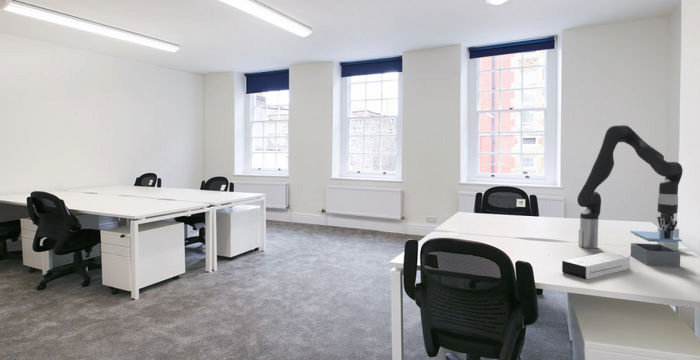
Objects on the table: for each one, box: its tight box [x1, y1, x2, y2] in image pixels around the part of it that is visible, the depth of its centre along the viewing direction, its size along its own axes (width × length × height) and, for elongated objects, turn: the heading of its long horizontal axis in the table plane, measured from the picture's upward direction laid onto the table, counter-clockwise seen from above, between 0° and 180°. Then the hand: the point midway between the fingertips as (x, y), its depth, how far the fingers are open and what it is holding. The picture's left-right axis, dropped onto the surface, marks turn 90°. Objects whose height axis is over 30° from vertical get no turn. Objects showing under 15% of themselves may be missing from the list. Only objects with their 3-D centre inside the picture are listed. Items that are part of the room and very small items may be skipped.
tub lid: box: [630, 229, 683, 243], centre depth 197 cm, size 15×21×7 cm
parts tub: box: [630, 242, 681, 267], centre depth 199 cm, size 14×18×7 cm
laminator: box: [561, 251, 630, 280], centre depth 184 cm, size 34×12×6 cm, turn 116°
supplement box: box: [656, 225, 680, 251], centre depth 223 cm, size 7×7×13 cm
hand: (666, 238), depth 188 cm, fingers closed on tub lid, 1 cm apart
